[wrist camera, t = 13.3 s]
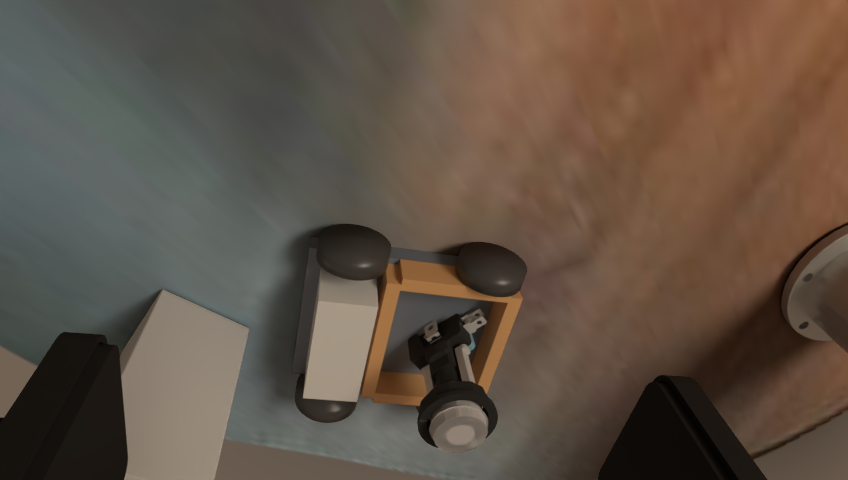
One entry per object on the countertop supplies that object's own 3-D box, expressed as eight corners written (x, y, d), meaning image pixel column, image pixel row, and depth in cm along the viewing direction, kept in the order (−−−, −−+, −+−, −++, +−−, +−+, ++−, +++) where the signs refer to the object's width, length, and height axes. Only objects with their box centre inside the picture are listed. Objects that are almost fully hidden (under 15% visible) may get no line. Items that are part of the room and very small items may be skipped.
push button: (463, 286, 42) (491, 382, 34) (498, 327, 45) (533, 427, 37) (392, 330, 44) (403, 433, 35) (431, 368, 46) (449, 472, 38)
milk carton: (250, 326, 44) (193, 572, 28) (208, 382, 47) (134, 638, 30) (163, 286, 41) (43, 534, 25) (123, 349, 44) (-9, 610, 28)
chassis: (523, 247, 43) (544, 289, 38) (472, 387, 50) (485, 437, 46) (313, 218, 40) (308, 261, 35) (291, 373, 47) (284, 425, 42)
